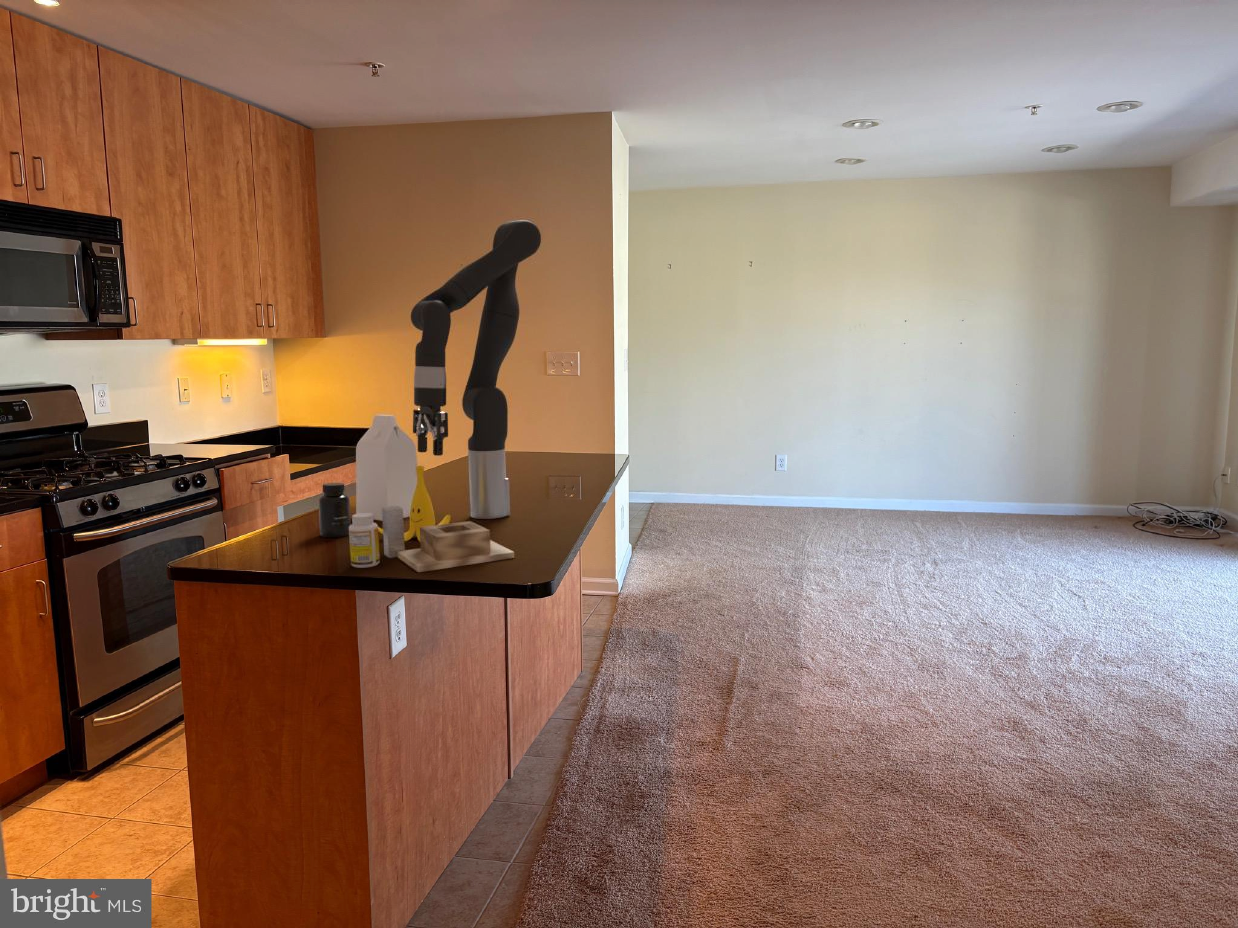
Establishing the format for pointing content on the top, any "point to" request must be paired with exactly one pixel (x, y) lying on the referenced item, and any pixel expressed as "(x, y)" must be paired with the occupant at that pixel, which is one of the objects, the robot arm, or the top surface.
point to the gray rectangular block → (393, 530)
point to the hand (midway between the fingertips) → (429, 453)
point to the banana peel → (420, 509)
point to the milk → (385, 468)
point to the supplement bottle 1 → (334, 511)
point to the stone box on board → (453, 547)
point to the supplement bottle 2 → (364, 541)
